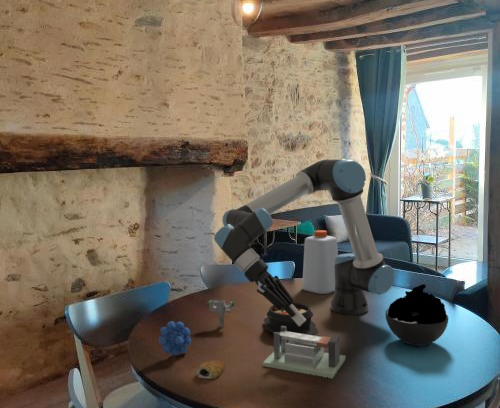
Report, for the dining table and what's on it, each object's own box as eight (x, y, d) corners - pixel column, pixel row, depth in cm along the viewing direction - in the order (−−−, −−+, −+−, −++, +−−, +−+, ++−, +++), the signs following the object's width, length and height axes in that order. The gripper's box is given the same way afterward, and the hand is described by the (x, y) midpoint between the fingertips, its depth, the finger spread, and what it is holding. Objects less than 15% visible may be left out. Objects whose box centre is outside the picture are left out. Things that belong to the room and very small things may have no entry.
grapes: (165, 365, 152) (164, 328, 151) (156, 358, 158) (154, 322, 156) (198, 355, 159) (196, 319, 158) (188, 349, 164) (186, 314, 163)
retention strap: (275, 339, 152) (275, 335, 152) (281, 332, 157) (281, 329, 157) (326, 348, 145) (326, 344, 145) (332, 341, 150) (332, 337, 150)
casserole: (252, 324, 187) (252, 303, 186) (294, 316, 194) (294, 295, 193) (284, 347, 164) (284, 323, 163) (330, 337, 172) (330, 313, 171)
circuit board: (263, 365, 150) (263, 362, 150) (280, 348, 162) (280, 345, 162) (332, 378, 140) (332, 374, 140) (345, 359, 153) (345, 355, 153)
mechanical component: (234, 329, 182) (233, 303, 181) (207, 327, 184) (206, 302, 183) (235, 326, 185) (235, 300, 184) (209, 325, 187) (208, 299, 186)
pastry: (211, 364, 152) (211, 353, 152) (230, 369, 149) (229, 357, 149) (194, 377, 144) (194, 365, 143) (213, 382, 141) (213, 369, 140)
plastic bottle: (298, 289, 231) (297, 231, 228) (318, 283, 241) (318, 227, 238) (323, 296, 220) (323, 234, 217) (344, 289, 230) (343, 230, 227)
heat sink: (271, 361, 150) (271, 335, 149) (284, 348, 160) (284, 323, 159) (332, 372, 142) (332, 344, 141) (342, 357, 152) (341, 331, 151)
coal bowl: (417, 360, 151) (417, 301, 149) (372, 339, 169) (372, 286, 167) (461, 347, 160) (462, 291, 158) (415, 328, 178) (415, 278, 176)
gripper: (253, 268, 162) (301, 323, 157) (235, 278, 150) (287, 337, 145) (267, 254, 159) (317, 309, 154) (250, 262, 148) (304, 322, 142)
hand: (302, 323), depth 150 cm, fingers closed
